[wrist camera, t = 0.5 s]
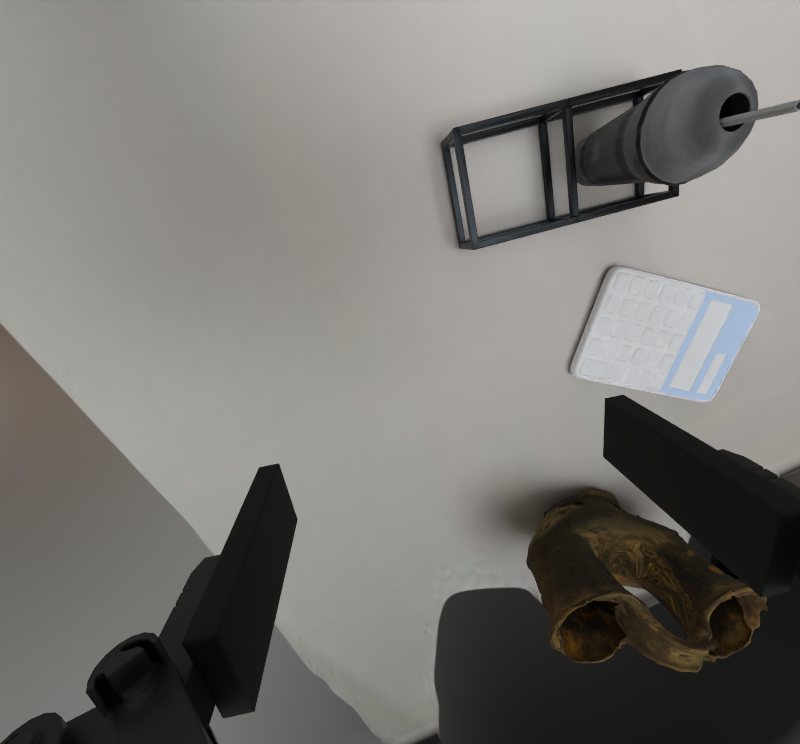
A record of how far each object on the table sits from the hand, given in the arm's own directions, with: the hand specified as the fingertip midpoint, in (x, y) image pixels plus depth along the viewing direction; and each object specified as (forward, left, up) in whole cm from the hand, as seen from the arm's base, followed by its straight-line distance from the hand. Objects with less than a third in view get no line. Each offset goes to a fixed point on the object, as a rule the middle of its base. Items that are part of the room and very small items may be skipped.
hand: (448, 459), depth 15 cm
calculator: (+11, +31, -28) cm, 43 cm away
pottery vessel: (+35, +19, -28) cm, 48 cm away
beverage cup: (-10, +24, -28) cm, 38 cm away
